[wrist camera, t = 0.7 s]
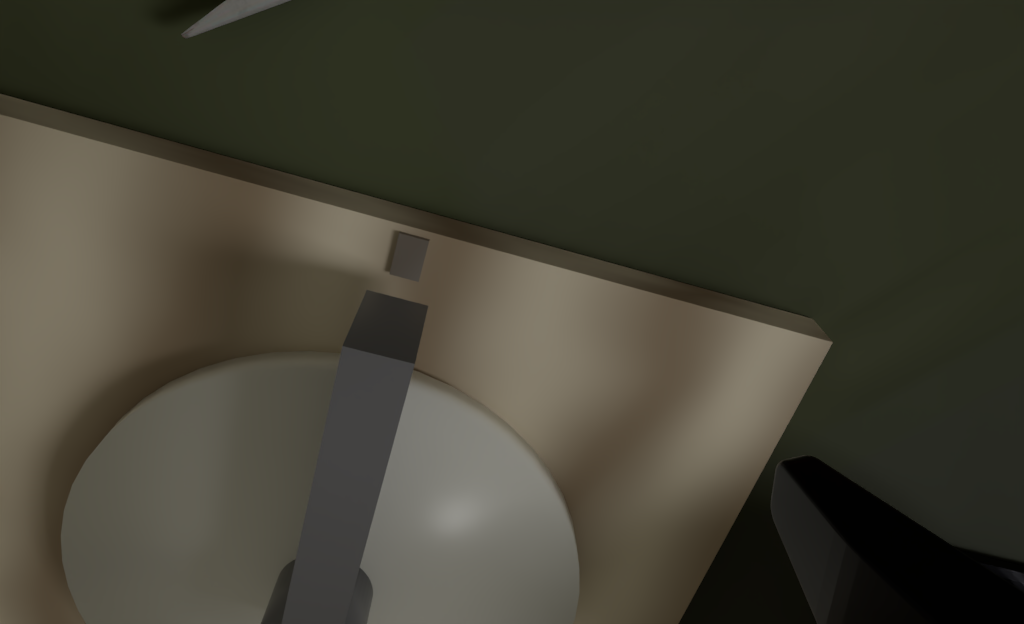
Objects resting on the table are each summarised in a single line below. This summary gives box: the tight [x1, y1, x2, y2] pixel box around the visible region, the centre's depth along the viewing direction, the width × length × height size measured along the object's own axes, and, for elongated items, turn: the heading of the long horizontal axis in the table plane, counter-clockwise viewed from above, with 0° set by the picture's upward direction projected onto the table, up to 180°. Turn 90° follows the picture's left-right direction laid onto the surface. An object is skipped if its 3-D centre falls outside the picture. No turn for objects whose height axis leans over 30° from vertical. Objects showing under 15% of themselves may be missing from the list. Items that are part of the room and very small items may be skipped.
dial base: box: [0, 94, 833, 624], centre depth 24 cm, size 24×24×2 cm
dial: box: [61, 290, 579, 624], centre depth 21 cm, size 18×16×4 cm
